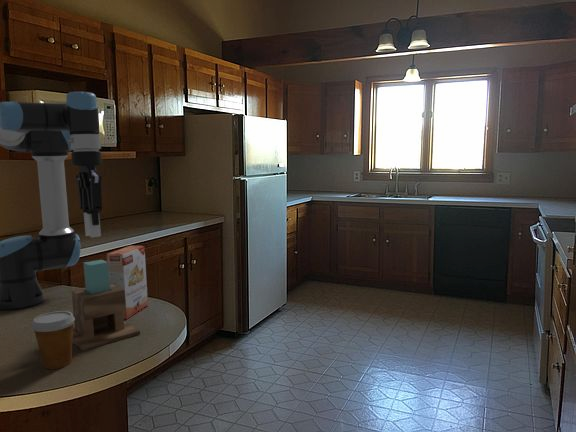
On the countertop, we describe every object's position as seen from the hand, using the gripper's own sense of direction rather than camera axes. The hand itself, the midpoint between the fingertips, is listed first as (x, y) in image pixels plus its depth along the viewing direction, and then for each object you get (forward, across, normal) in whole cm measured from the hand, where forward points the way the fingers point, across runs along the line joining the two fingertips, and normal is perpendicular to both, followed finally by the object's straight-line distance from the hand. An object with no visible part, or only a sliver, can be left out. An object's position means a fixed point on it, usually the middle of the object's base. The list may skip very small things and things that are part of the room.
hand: (93, 235), depth 132 cm
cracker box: (+29, -13, +14) cm, 35 cm away
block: (+20, 0, 0) cm, 20 cm away
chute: (+29, 0, 0) cm, 29 cm away
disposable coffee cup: (+29, +12, -15) cm, 35 cm away
